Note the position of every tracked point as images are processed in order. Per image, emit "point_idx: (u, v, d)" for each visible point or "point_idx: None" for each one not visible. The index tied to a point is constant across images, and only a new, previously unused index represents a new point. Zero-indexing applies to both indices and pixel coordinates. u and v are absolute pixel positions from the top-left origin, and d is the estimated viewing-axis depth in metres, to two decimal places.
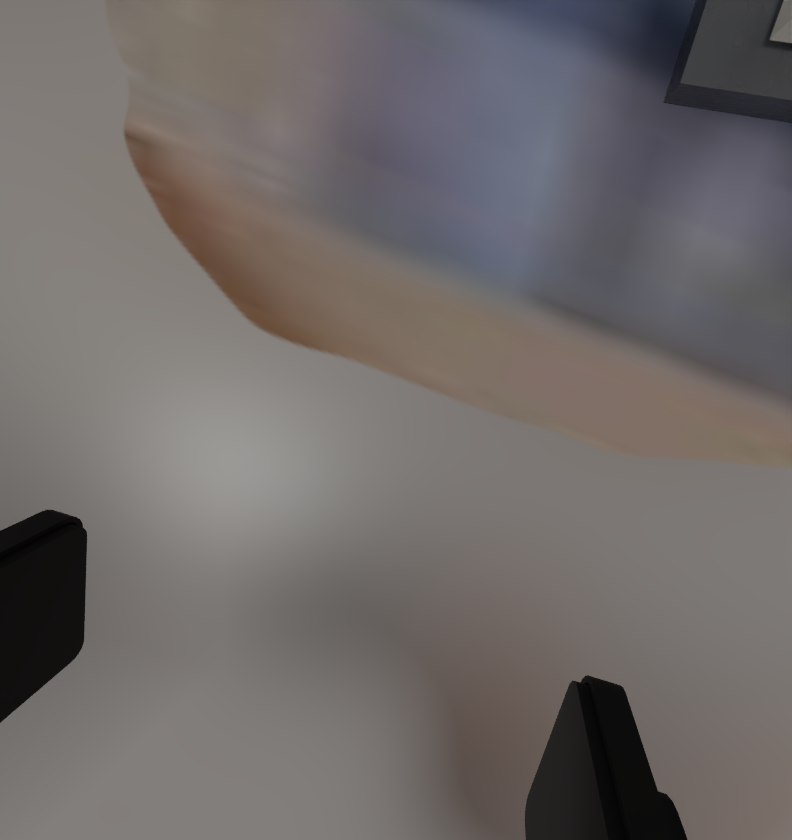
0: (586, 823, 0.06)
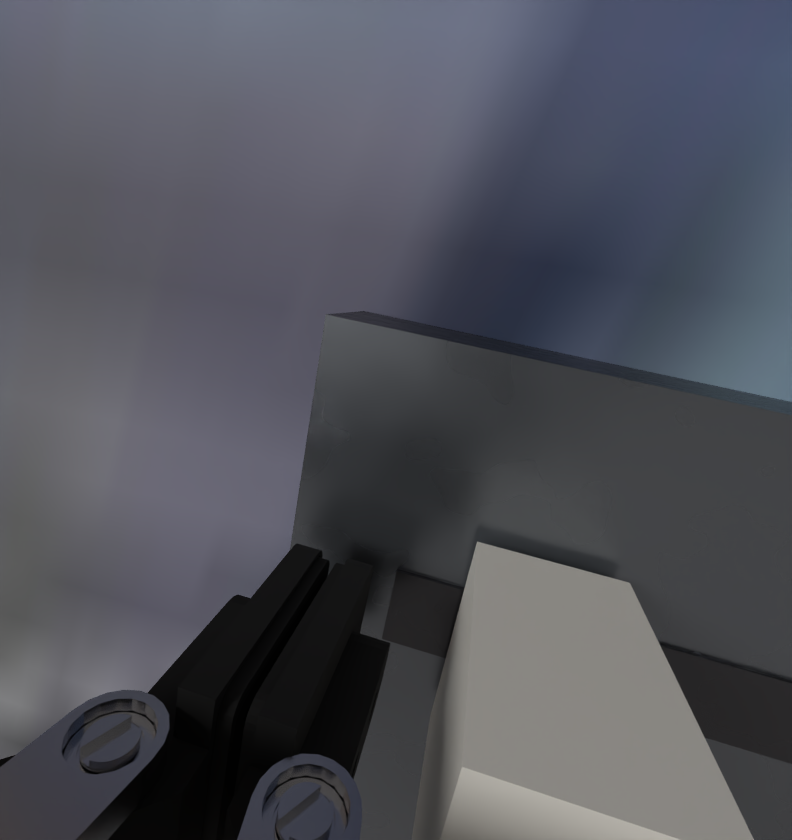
0: None
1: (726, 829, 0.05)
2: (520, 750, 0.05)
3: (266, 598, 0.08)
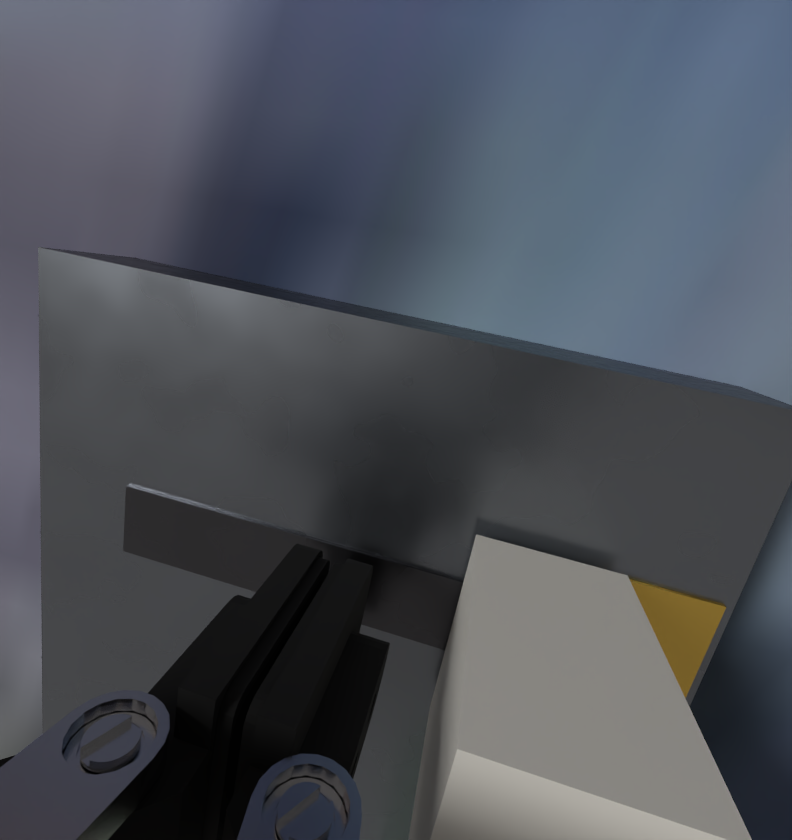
0: None
1: (715, 811, 0.05)
2: (514, 733, 0.06)
3: (266, 598, 0.08)
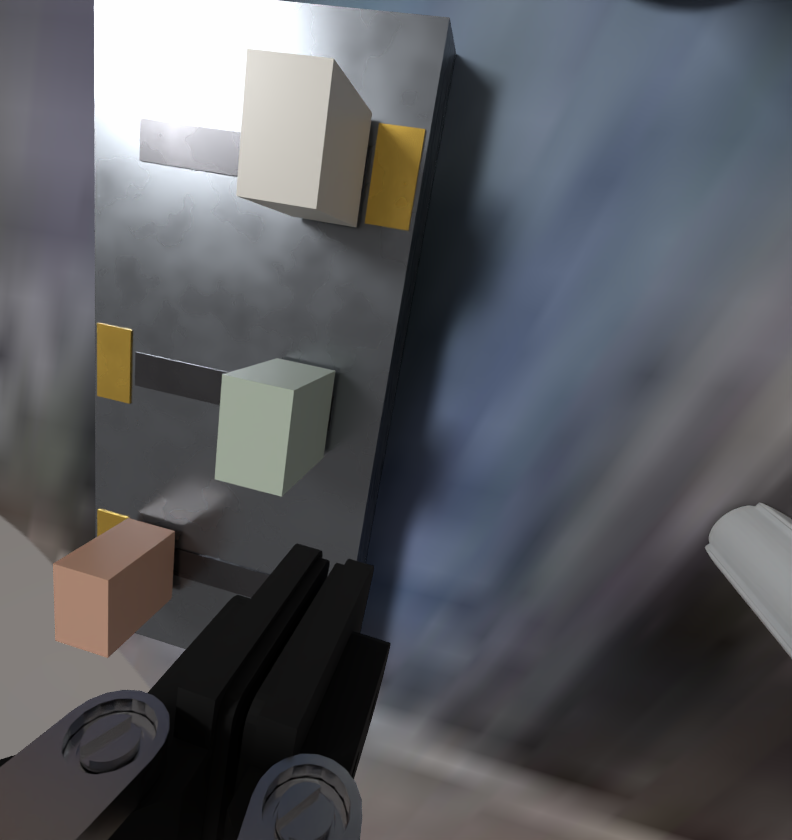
0: None
1: (329, 61, 0.16)
2: (270, 56, 0.16)
3: (266, 598, 0.08)
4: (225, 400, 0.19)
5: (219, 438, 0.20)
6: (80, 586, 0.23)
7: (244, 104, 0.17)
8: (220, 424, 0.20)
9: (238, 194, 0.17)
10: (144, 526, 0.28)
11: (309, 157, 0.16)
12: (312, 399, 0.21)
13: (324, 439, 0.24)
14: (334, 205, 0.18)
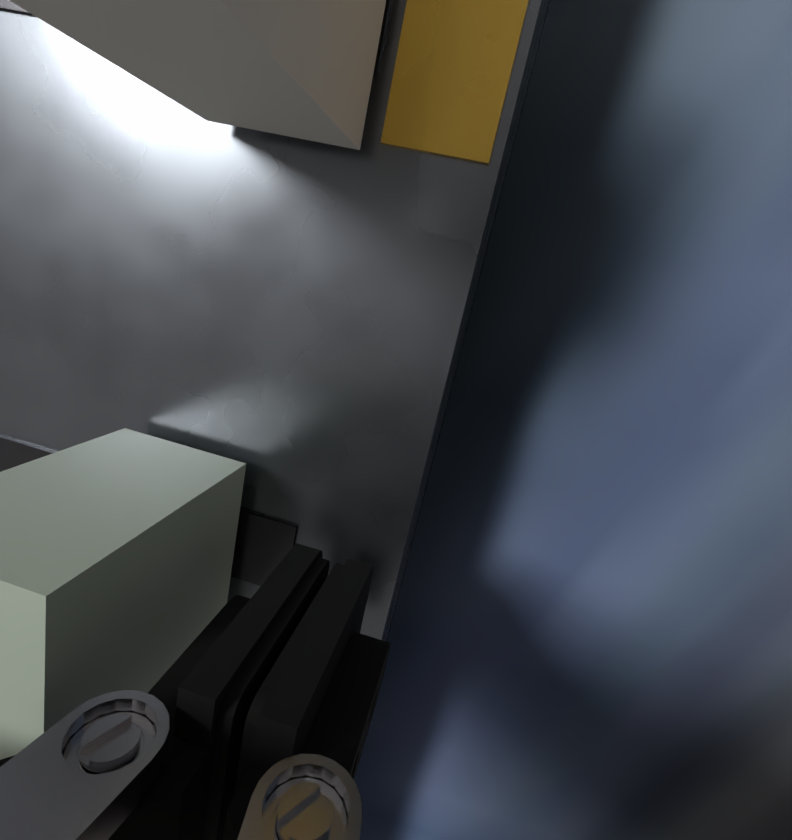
0: None
1: None
2: None
3: (266, 598, 0.08)
4: None
5: None
6: None
7: None
8: None
9: None
10: None
11: None
12: (158, 561, 0.08)
13: (222, 601, 0.11)
14: (292, 31, 0.06)
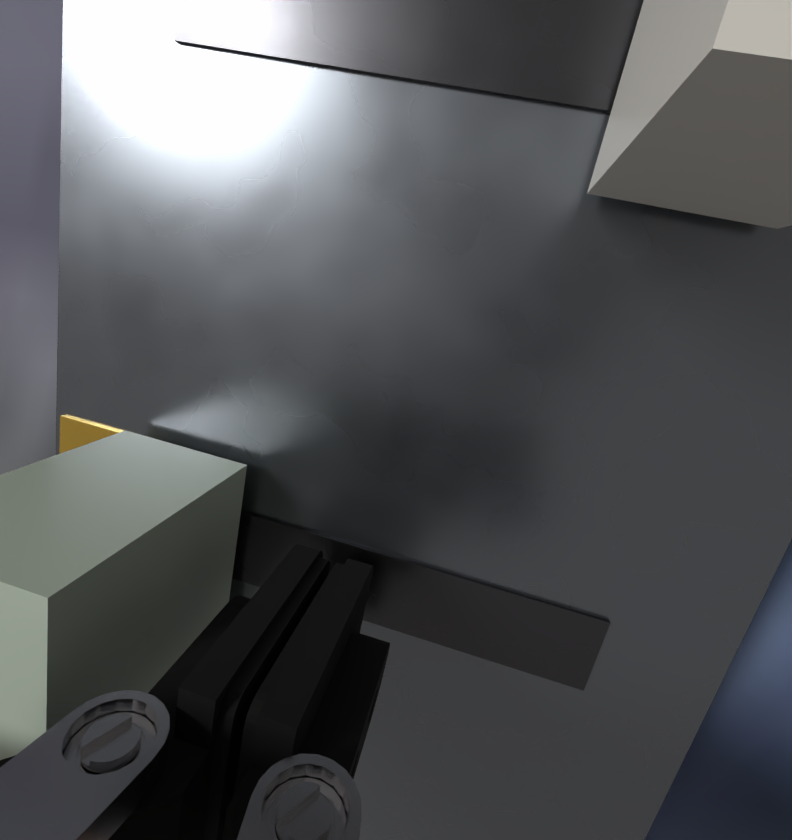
0: None
1: None
2: None
3: (266, 598, 0.08)
4: None
5: None
6: None
7: None
8: None
9: (706, 49, 0.04)
10: None
11: None
12: (159, 563, 0.08)
13: (224, 603, 0.11)
14: None
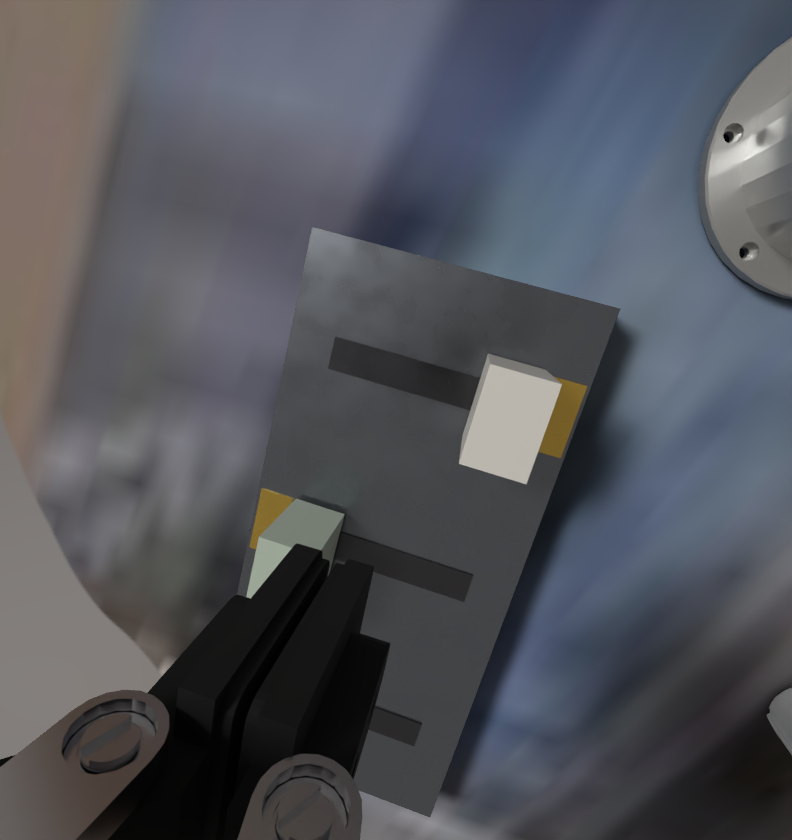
0: None
1: (554, 381, 0.20)
2: (504, 367, 0.20)
3: (266, 598, 0.08)
4: (259, 556, 0.24)
5: (250, 583, 0.24)
6: None
7: (478, 400, 0.21)
8: (252, 573, 0.24)
9: (459, 461, 0.21)
10: None
11: (527, 447, 0.21)
12: (326, 549, 0.26)
13: (330, 567, 0.29)
14: None
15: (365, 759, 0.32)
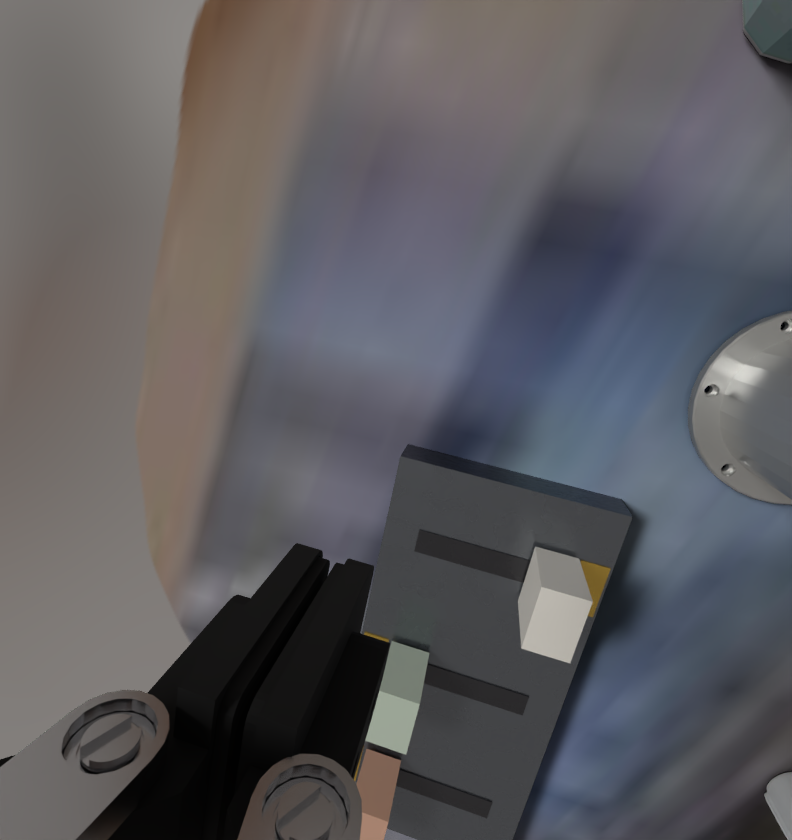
0: None
1: (587, 597, 0.29)
2: (551, 585, 0.29)
3: (266, 598, 0.08)
4: (377, 702, 0.33)
5: None
6: (367, 822, 0.36)
7: (533, 608, 0.30)
8: None
9: (521, 646, 0.30)
10: (380, 757, 0.41)
11: (570, 640, 0.30)
12: None
13: None
14: None
15: (449, 826, 0.42)
